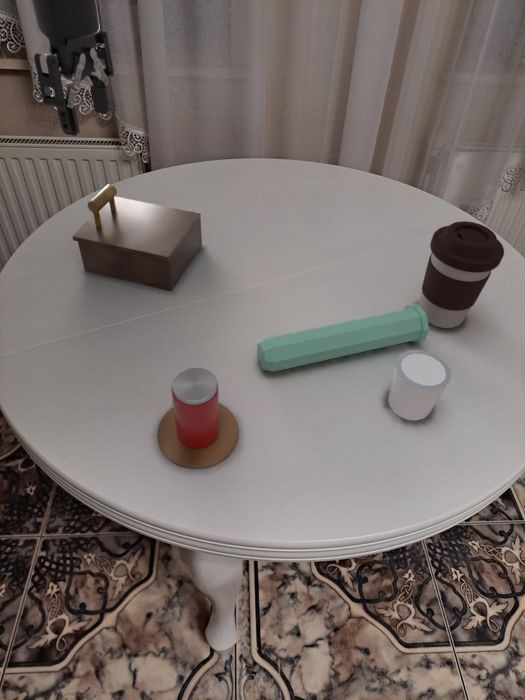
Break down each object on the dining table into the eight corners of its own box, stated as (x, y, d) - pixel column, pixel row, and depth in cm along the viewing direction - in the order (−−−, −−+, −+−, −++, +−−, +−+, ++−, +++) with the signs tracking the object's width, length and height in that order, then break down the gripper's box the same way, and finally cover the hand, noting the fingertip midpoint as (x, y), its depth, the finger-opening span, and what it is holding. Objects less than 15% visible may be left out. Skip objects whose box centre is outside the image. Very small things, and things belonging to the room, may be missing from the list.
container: (262, 345, 66) (430, 310, 72) (249, 330, 71) (407, 298, 77) (266, 385, 68) (428, 348, 74) (253, 367, 74) (406, 334, 79)
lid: (73, 240, 81) (65, 210, 77) (114, 200, 90) (109, 171, 86) (168, 261, 78) (165, 231, 74) (200, 217, 87) (199, 188, 84)
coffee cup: (480, 310, 83) (517, 230, 72) (459, 344, 77) (497, 263, 66) (422, 286, 86) (450, 207, 76) (399, 318, 80) (425, 236, 70)
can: (175, 449, 61) (169, 402, 54) (178, 414, 64) (172, 366, 58) (219, 448, 61) (218, 401, 55) (219, 414, 65) (218, 366, 58)
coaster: (154, 470, 59) (153, 467, 59) (160, 402, 66) (160, 399, 66) (240, 467, 60) (240, 464, 60) (237, 401, 67) (237, 398, 67)
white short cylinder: (445, 412, 68) (463, 377, 63) (406, 432, 65) (421, 397, 60) (411, 377, 72) (424, 342, 67) (373, 395, 69) (384, 360, 64)
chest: (84, 271, 85) (77, 241, 81) (123, 229, 94) (118, 200, 90) (171, 291, 82) (168, 261, 78) (202, 246, 92) (200, 217, 87)
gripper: (56, 3, 56) (85, 147, 68) (117, -20, 66) (134, 109, 78) (-3, -5, 58) (36, 137, 69) (66, -26, 67) (89, 102, 79)
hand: (88, 122), depth 73 cm, fingers open, 8 cm apart
